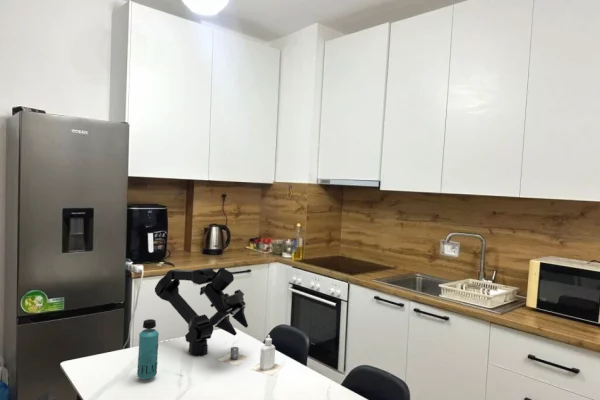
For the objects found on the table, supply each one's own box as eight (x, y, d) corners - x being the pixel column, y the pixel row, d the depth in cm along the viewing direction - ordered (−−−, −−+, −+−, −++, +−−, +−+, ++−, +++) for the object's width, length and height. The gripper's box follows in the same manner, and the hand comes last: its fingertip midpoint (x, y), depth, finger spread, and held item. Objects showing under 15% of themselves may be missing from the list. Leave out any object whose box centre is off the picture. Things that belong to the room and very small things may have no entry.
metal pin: (228, 359, 153) (229, 348, 153) (233, 356, 156) (233, 346, 156) (235, 361, 152) (235, 350, 152) (239, 358, 155) (240, 347, 155)
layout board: (212, 365, 150) (212, 362, 150) (230, 354, 161) (230, 351, 161) (268, 381, 140) (268, 378, 140) (284, 368, 151) (284, 365, 151)
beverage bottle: (137, 385, 132) (140, 324, 132) (135, 376, 138) (138, 318, 137) (158, 381, 135) (161, 322, 135) (155, 373, 141) (158, 316, 140)
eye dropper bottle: (275, 369, 147) (277, 337, 146) (260, 370, 145) (262, 337, 145) (273, 364, 151) (274, 332, 151) (258, 365, 149) (260, 333, 149)
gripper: (218, 289, 142) (245, 325, 138) (242, 279, 159) (266, 311, 156) (197, 308, 144) (223, 344, 141) (223, 296, 162) (247, 328, 159)
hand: (241, 330), depth 149 cm, fingers open, 9 cm apart
